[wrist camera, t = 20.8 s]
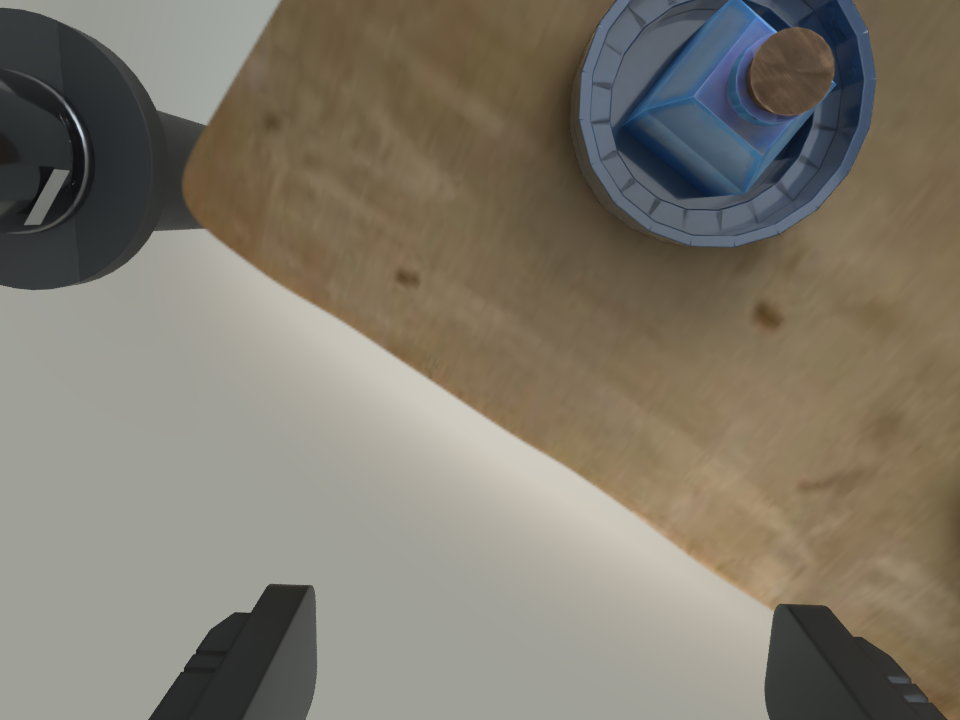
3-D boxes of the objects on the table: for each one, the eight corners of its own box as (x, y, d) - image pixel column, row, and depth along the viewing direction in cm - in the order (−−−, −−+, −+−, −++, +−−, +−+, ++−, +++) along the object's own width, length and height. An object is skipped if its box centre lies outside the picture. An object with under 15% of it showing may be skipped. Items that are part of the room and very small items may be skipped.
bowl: (562, 239, 40) (571, 243, 35) (576, -29, 37) (588, -65, 32) (810, 246, 40) (853, 251, 35) (843, -23, 37) (895, -59, 32)
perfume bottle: (782, 105, 38) (910, 56, 26) (705, 197, 39) (796, 190, 27) (696, 30, 37) (788, -54, 26) (621, 126, 38) (676, 87, 27)
